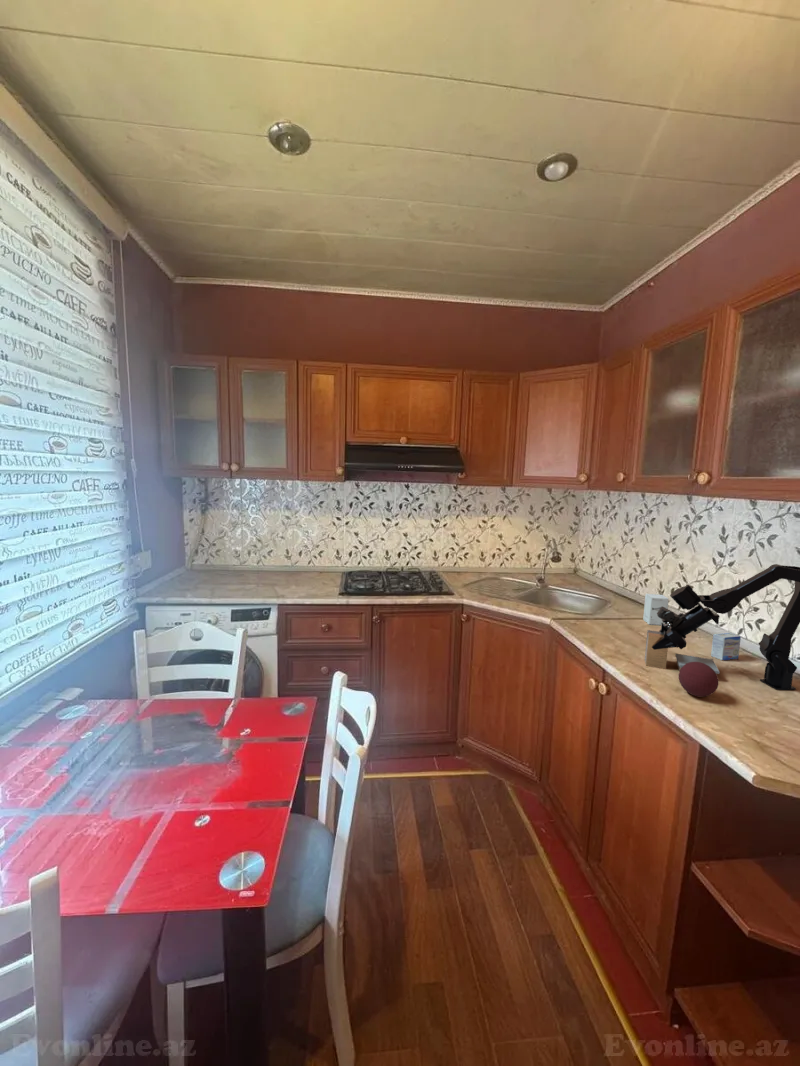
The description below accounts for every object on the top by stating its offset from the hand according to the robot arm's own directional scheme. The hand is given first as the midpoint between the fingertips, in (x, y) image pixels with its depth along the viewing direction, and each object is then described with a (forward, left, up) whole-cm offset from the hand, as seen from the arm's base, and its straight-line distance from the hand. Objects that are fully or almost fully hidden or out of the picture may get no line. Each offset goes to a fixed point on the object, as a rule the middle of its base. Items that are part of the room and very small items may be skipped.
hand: (652, 645), depth 156 cm
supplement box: (+44, -29, -7) cm, 54 cm away
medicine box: (+5, -31, -7) cm, 32 cm away
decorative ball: (-23, 0, -7) cm, 24 cm away
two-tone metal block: (-1, -1, -7) cm, 7 cm away
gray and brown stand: (-6, -12, -7) cm, 15 cm away
